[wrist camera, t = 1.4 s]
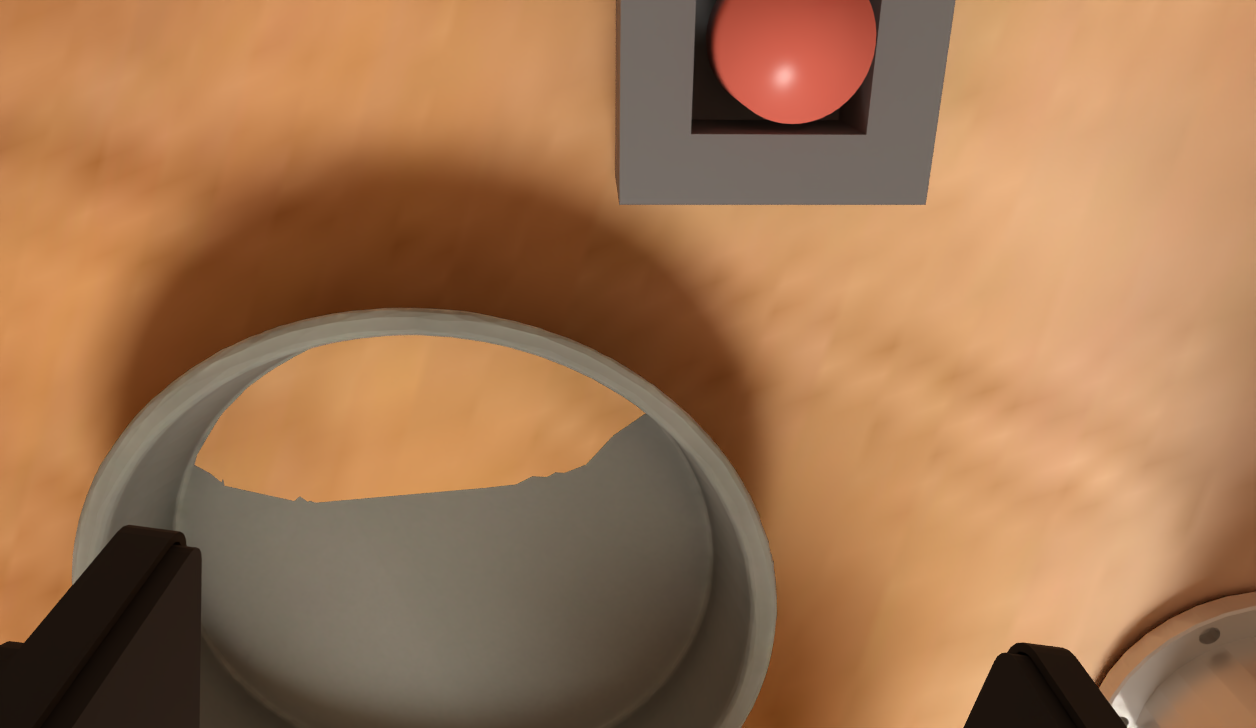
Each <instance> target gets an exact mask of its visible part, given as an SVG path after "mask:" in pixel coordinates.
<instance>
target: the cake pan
mask: <svg viewBox="0 0 1256 728" xmlns="http://www.w3.org/2000/svg"><path fill="white" fill-rule="evenodd" d="M392 335H427V336H442V337H454V338H461V339H469V340H476V341H482V342H488V343H492V344H497V345H502V346H506V347H510V348H514V349H517V350H520V351H524V352H527V353H531V354H534V355H537V356H540V357H543V358H546V359H548V360H551V361H553V362H556V363H558V364H561V365H564V366H566V367H568V368H570V369H573V370H575V371H577V372H579V373H581V374H584V375H586V376H588V377H590V378H592V379H594V380H595V381H597V382H599V383H601V384H602V385H604V386H606V387H608V388H609V389H611V390H613V391H614V392H616V393H618V394H620V395H621V396H623V397H624V398H626V399H627V400H629V401H630V402H632V403H633V404H634V405H636V406H637V407H639V408H640V409H641V410H643V411H644V412H645V413H646V414H644V415H643V416H641V417H640V418H638V419H637V420H635V421H634V422H632V423H631V424H630V425H628V426H627V427H625V428H624V429H622V430H621V431H619V432H618V433H616V434H615V435H613V437H612V438H611V439H610V440H609V441H608V442H607V443H606V444H605V445H604V446H603V447H602V448H601V449H600V450H599V452H598V453H597V454H596V455H595V456H594V457H593V458H592V459H591V460H590V461H589V462H588V463H587V464H586V465H584V466H581V467H579V468H576V469H574V470H571V471H568V472H566V473H557V472H555V473H554V474H552V475H550V476H548V477H534V476H532V477H530V478H528V479H526V480H524V481H522V482H520V483H518V484H516V485H508V486H499V487H490V488H479V489H468V490H457V491H445V492H434V493H422V494H411V495H399V496H388V497H377V498H365V499H354V500H342V501H331V502H319V503H315V502H312V501H309V502H307V501H306V500H304V499H303V498H301V497H298V498H297V499H296V500H295V501H291V500H287V499H282V498H278V497H273V496H269V495H264V494H259V493H255V492H250V491H246V490H241V489H237V488H232V487H227V486H224V481H223V480H222V482H220V481H219V480H217V479H216V478H215V477H214V476H212V475H211V474H210V473H208V472H206V471H205V470H203V469H201V468H199V467H197V466H195V465H194V464H195V460H196V457H197V454H198V452H199V450H200V449H201V447H202V445H203V444H204V442H205V440H206V439H207V437H208V435H209V434H210V432H211V430H212V429H213V427H214V425H215V424H216V422H217V420H218V419H219V417H220V416H221V415H222V413H223V412H224V411H225V410H226V409H227V408H228V407H229V406H230V405H231V404H232V403H233V402H234V401H235V400H236V399H237V398H238V397H239V396H240V395H241V394H242V392H243V391H244V390H245V389H246V388H248V387H249V386H250V385H251V384H253V383H254V382H256V381H257V380H258V379H260V378H261V377H262V376H264V375H265V374H266V373H268V372H270V371H271V370H273V369H274V368H276V367H277V366H279V365H281V364H283V363H284V362H286V361H288V360H289V359H291V358H293V357H295V356H297V355H299V354H300V353H302V352H304V351H306V350H308V349H311V348H313V347H318V346H322V345H326V344H330V343H335V342H341V341H347V340H353V339H360V338H369V337H380V336H392ZM126 525H135V526H143V527H150V528H158V529H165V530H173V531H180V532H182V533H184V535H185V538H186V545H187V546H189V547H197V548H199V549H200V551H201V555H202V586H201V659H200V728H741V727H742V725H743V724H744V722H745V720H746V718H747V716H748V715H749V713H750V711H751V710H752V708H753V705H754V703H755V701H756V699H757V696H758V694H759V692H760V690H761V687H762V684H763V681H764V679H765V676H766V673H767V669H768V666H769V662H770V658H771V653H772V648H773V642H774V635H775V627H776V618H777V595H776V579H775V572H774V562H773V559H772V554H771V552H770V548H769V542H768V539H767V536H766V534H765V531H764V528H763V526H762V524H761V520H760V517H759V514H758V512H757V510H756V508H755V506H754V503H753V501H752V499H751V496H750V494H749V492H748V491H747V489H746V488H745V486H744V483H743V482H742V480H741V478H740V477H739V475H738V474H737V472H736V470H735V468H734V467H733V466H732V465H731V463H730V461H729V460H728V458H727V457H726V456H725V455H724V453H723V452H722V451H721V450H720V448H719V446H718V445H717V444H716V443H715V442H714V441H713V440H712V439H711V437H710V436H709V435H708V434H707V433H706V432H705V431H704V430H703V429H702V428H701V427H700V426H699V425H698V423H697V422H696V421H695V420H694V419H693V418H692V417H691V416H690V415H689V414H688V413H687V412H686V411H684V410H683V409H682V408H681V407H680V406H679V405H677V404H676V403H675V402H674V401H673V400H672V399H671V398H669V397H668V396H667V395H665V394H664V393H663V392H662V391H661V390H659V389H658V388H657V387H656V386H655V385H653V384H651V383H650V382H648V381H647V380H645V379H644V378H643V377H641V376H639V375H638V374H636V373H635V372H633V371H632V370H630V369H628V368H627V367H625V366H624V365H622V364H620V363H619V362H617V361H615V360H614V359H612V358H610V357H608V356H605V355H603V354H601V353H600V352H598V351H596V350H594V349H592V348H590V347H588V346H586V345H583V344H581V343H579V342H576V341H574V340H572V339H569V338H567V337H564V336H561V335H558V334H555V333H552V332H549V331H546V330H544V329H542V328H538V327H535V326H531V325H527V324H523V323H520V322H517V321H512V320H507V319H503V318H498V317H494V316H489V315H484V314H479V313H474V312H467V311H459V310H445V309H430V308H380V309H369V310H357V311H347V312H341V313H335V314H328V315H323V316H318V317H314V318H309V319H304V320H300V321H297V322H293V323H290V324H286V325H282V326H278V327H276V328H273V329H271V330H267V331H264V332H263V333H260V334H257V335H254V336H251V337H249V338H247V339H244V340H242V341H240V342H238V343H236V344H234V345H232V346H229V347H227V348H225V349H222V350H220V351H219V352H217V353H215V354H214V355H212V356H211V357H209V358H208V359H206V360H204V361H203V362H201V363H199V364H198V365H196V366H194V367H193V368H191V369H190V370H188V371H187V372H186V373H184V374H183V375H181V376H180V377H179V378H177V379H176V380H175V381H173V382H172V383H171V384H170V385H168V386H167V387H166V388H165V389H164V390H163V391H162V392H160V393H159V394H158V395H157V396H155V397H154V398H153V399H152V400H151V401H150V402H149V403H148V404H147V405H146V406H145V407H144V408H143V409H142V410H141V411H140V412H139V413H138V414H137V415H136V416H135V417H134V419H133V420H132V421H131V422H130V424H129V425H128V426H127V427H126V429H125V430H124V431H123V433H122V434H121V435H120V437H119V438H118V440H117V441H116V442H115V444H114V445H113V447H112V448H111V450H110V451H109V453H108V454H107V456H106V457H105V459H104V460H103V462H102V463H101V465H100V467H99V469H98V472H97V473H96V475H95V477H94V480H93V482H92V485H91V487H90V489H89V492H88V494H87V497H86V500H85V503H84V506H83V509H82V512H81V515H80V519H79V523H78V528H77V533H76V537H75V543H74V551H73V565H72V585H73V584H74V583H75V582H76V580H77V579H78V578H79V577H80V576H81V575H82V573H83V572H84V571H85V570H86V569H87V567H88V566H89V565H90V564H91V563H92V561H93V560H94V559H95V558H96V557H97V555H98V554H99V553H100V552H101V551H102V549H103V548H104V547H105V546H106V545H107V543H108V542H109V541H110V540H111V539H112V537H113V536H114V535H115V534H116V533H117V532H118V531H119V530H120V529H121V528H122V527H123V526H126Z"/></svg>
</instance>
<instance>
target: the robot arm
mask: <svg viewBox="0 0 1256 728" xmlns="http://www.w3.org/2000/svg"><path fill="white" fill-rule="evenodd" d="M201 586H202V555H201V551H200V549H199V548H197V547H189V546H187V545H186V538H185V535H184V533H182V532H180V531H173V530H165V529H158V528H150V527H143V526H135V525H126V526H123V527H122V528H121V529H120V530H119V531H118V532H117V533H116V534H115V535H114V536H113V537H112V539H111V540H110V541H109V542H108V543H107V545H106V546H105V547H104V548H103V549H102V551H101V552H100V553H99V554H98V555H97V557H96V558H95V559H94V560H93V561H92V563H91V564H90V565H89V566H88V567H87V569H86V570H85V571H84V572H83V573H82V575H81V576H80V577H79V578H78V579H77V580H76V582H75V583H74V584H73V585H72V586H71V588H70V589H69V590H68V591H67V592H66V594H65V595H64V596H63V597H62V598H61V600H60V601H59V602H58V603H57V604H56V606H55V607H54V608H53V609H52V610H51V612H50V613H49V614H48V615H47V616H46V618H45V619H44V620H43V621H42V622H41V624H40V625H39V626H38V627H37V628H36V630H35V631H34V632H33V633H32V634H31V635H30V637H29V638H28V639H27V640H26V641H25V643H20V642H11V641H8V642H6V643H4V644H2V645H0V728H200V659H201ZM964 728H1256V592H1250V593H1244V594H1239V595H1233V596H1227V597H1223V598H1220V599H1217V600H1214V601H1211V602H1207V603H1204V604H1201V605H1198V606H1196V607H1193V608H1191V609H1189V610H1187V611H1185V612H1183V613H1181V614H1179V615H1177V616H1174V617H1172V618H1170V619H1169V620H1167V621H1166V622H1164V623H1163V624H1161V625H1159V626H1158V627H1156V628H1155V629H1153V630H1152V631H1150V632H1149V633H1147V634H1146V635H1145V636H1143V637H1142V638H1141V639H1140V640H1139V641H1138V642H1136V643H1135V644H1134V645H1133V646H1132V647H1131V648H1130V649H1128V650H1127V651H1126V652H1125V653H1124V654H1123V656H1122V657H1121V658H1120V659H1119V660H1118V661H1117V663H1116V664H1115V665H1114V666H1113V667H1112V668H1111V670H1110V671H1109V672H1108V674H1107V675H1106V677H1105V679H1104V680H1103V682H1102V684H1101V686H1100V687H1099V688H1098V687H1097V685H1096V684H1095V683H1094V681H1093V680H1092V679H1091V677H1090V676H1089V674H1088V673H1087V672H1086V670H1085V669H1084V668H1083V666H1082V665H1081V664H1080V662H1079V661H1078V659H1077V658H1076V657H1075V656H1074V655H1073V654H1072V653H1071V652H1070V651H1069V650H1067V649H1064V648H1060V647H1053V646H1045V645H1037V644H1030V643H1016V644H1015V645H1013V646H1012V647H1011V648H1010V649H1009V651H1008V652H1007V653H1001V654H1000V655H999V656H997V658H996V660H995V661H994V663H993V665H992V667H991V670H990V672H989V674H988V676H987V678H986V680H985V682H984V685H983V687H982V689H981V691H980V693H979V695H978V698H977V700H976V702H975V704H974V706H973V708H972V710H971V713H970V715H969V717H968V719H967V721H966V723H965V726H964Z"/></svg>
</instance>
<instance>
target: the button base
mask: <svg viewBox="0 0 1256 728" xmlns="http://www.w3.org/2000/svg"><path fill="white" fill-rule="evenodd" d="M869 1H870V3H871V6H872V9H873V12H874V17H875V22H876V46H875V51H874V56H873V60H872V63H871V66H870V68H869V71H868V73H867V75H866V77H865V79H864V81H863V82H862V84H861V86H860V87H859V88H858V90H857V91H856V92H855V94H854V95H853V96H852V97H851V98H850V99H849V100H848V101H847V102H846V103H845V104H843V105H842V106H841V107H840V108H838V109H837V110H835V111H834V112H832V113H831V114H829V115H827V116H825V117H823V118H820V119H817V120H814V121H811V122H806V123H800V124H785V123H778V122H774V121H771V120H768V119H765V118H763V117H761V116H759V115H757V114H755V113H754V112H753V111H751V110H750V109H748V108H747V107H746V106H744V105H743V104H742V103H740V102H739V101H738V100H737V99H735V98H734V97H733V96H731V95H730V94H729V93H728V92H727V91H726V90H725V89H724V88H723V87H722V86H721V84H720V83H719V82H718V80H717V78H716V77H715V75H714V73H713V71H712V68H711V66H710V63H709V59H708V55H707V49H706V32H707V25H708V21H709V17H710V14H711V11H712V8H713V6H714V4H715V2H716V0H616V143H615V178H616V185H617V191H618V198H619V205H926V198H927V192H928V185H929V178H930V171H931V164H932V157H933V150H934V143H935V137H936V130H937V123H938V116H939V109H940V102H941V95H942V89H943V82H944V75H945V68H946V61H947V54H948V47H949V41H950V34H951V27H952V20H953V13H954V6H955V0H869Z"/></svg>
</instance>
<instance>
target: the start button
mask: <svg viewBox="0 0 1256 728" xmlns="http://www.w3.org/2000/svg"><path fill="white" fill-rule="evenodd" d="M875 46H876V22H875V17H874V12H873V9H872V6H871V3H870V1H869V0H716V2H715V4H714V6H713V8H712V11H711V14H710V17H709V21H708V25H707V32H706V49H707V55H708V59H709V63H710V66H711V68H712V71H713V73H714V75H715V77H716V78H717V80H718V82H719V83H720V84H721V86H722V87H723V88H724V89H725V90H726V91H727V92H728V93H729V94H730V95H731V96H733V97H734V98H735V99H737V100H738V101H739V102H740V103H742V104H743V105H744V106H746V107H747V108H748V109H750V110H751V111H753V112H754V113H755V114H757V115H759V116H761V117H763V118H765V119H768V120H771V121H774V122H778V123H785V124H800V123H806V122H811V121H814V120H817V119H820V118H823V117H825V116H827V115H829V114H831V113H832V112H834V111H835V110H837V109H838V108H840V107H841V106H842V105H843V104H845V103H846V102H847V101H848V100H849V99H850V98H851V97H852V96H853V95H854V94H855V92H856V91H857V90H858V88H859V87H860V86H861V84H862V82H863V81H864V79H865V77H866V75H867V73H868V71H869V68H870V66H871V63H872V60H873V56H874V51H875Z"/></svg>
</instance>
